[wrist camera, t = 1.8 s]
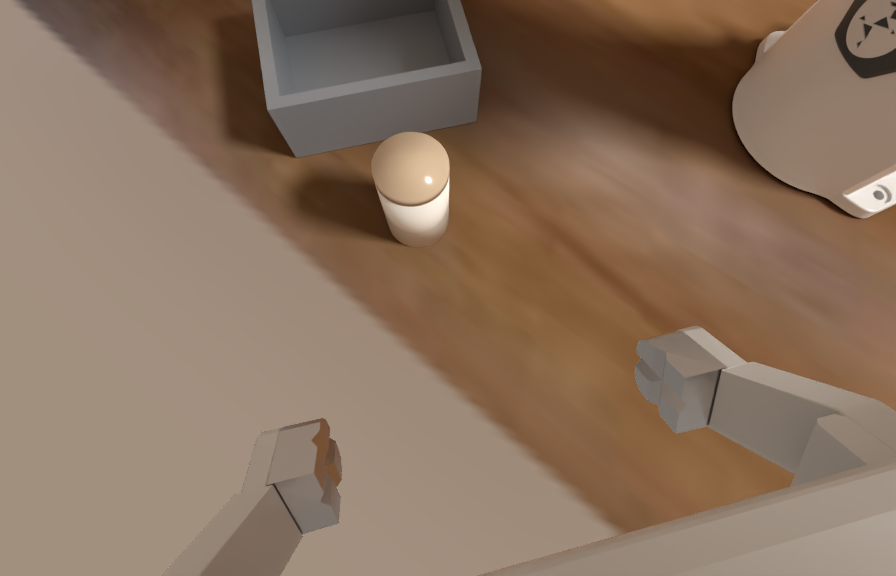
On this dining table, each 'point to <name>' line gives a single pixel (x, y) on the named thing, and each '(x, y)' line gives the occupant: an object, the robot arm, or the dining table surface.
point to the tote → (365, 69)
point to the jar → (413, 187)
